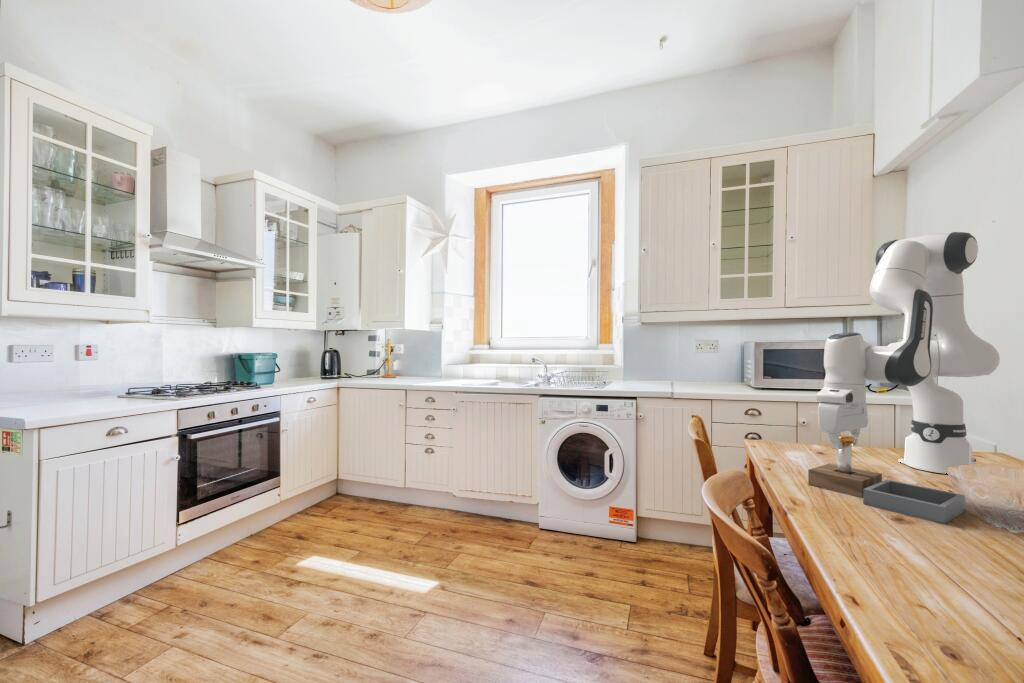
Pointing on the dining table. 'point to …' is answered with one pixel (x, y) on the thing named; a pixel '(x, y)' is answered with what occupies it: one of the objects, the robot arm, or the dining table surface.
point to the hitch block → (842, 479)
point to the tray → (915, 500)
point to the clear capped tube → (845, 455)
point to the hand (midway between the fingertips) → (844, 447)
